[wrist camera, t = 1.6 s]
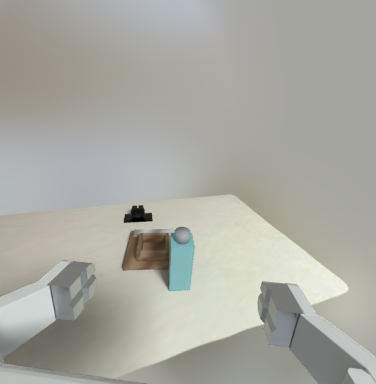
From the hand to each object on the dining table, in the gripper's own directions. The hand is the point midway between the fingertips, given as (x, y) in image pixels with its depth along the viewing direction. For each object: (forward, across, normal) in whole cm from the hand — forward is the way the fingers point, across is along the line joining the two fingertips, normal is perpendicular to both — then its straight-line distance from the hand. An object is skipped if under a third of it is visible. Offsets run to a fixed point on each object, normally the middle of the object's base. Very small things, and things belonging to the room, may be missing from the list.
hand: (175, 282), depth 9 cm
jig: (+37, -10, -24) cm, 45 cm away
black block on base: (+52, -20, -23) cm, 60 cm away
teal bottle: (+28, -2, -25) cm, 38 cm away
